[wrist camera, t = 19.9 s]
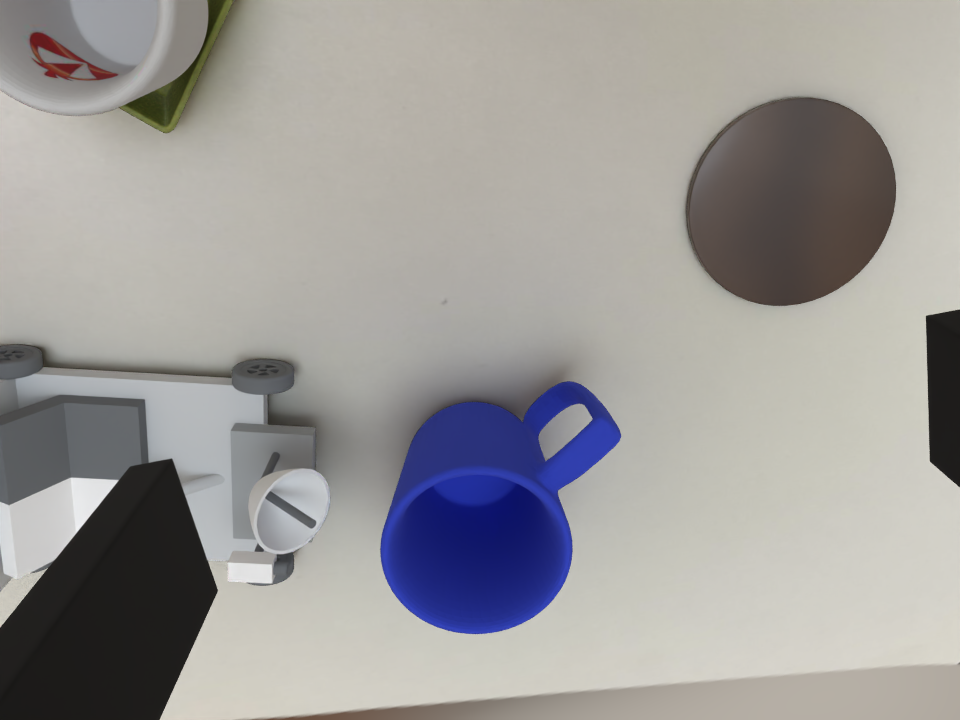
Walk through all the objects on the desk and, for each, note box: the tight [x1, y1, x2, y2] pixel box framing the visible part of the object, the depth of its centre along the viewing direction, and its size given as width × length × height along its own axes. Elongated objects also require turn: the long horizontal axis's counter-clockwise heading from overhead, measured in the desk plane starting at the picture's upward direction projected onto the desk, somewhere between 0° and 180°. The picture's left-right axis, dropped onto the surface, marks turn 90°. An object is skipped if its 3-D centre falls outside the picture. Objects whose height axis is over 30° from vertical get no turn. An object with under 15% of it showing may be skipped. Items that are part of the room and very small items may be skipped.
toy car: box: [0, 345, 330, 592], centre depth 42 cm, size 18×10×12 cm
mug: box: [380, 381, 621, 634], centre depth 42 cm, size 8×12×10 cm
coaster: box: [687, 98, 896, 306], centre depth 42 cm, size 10×10×1 cm
